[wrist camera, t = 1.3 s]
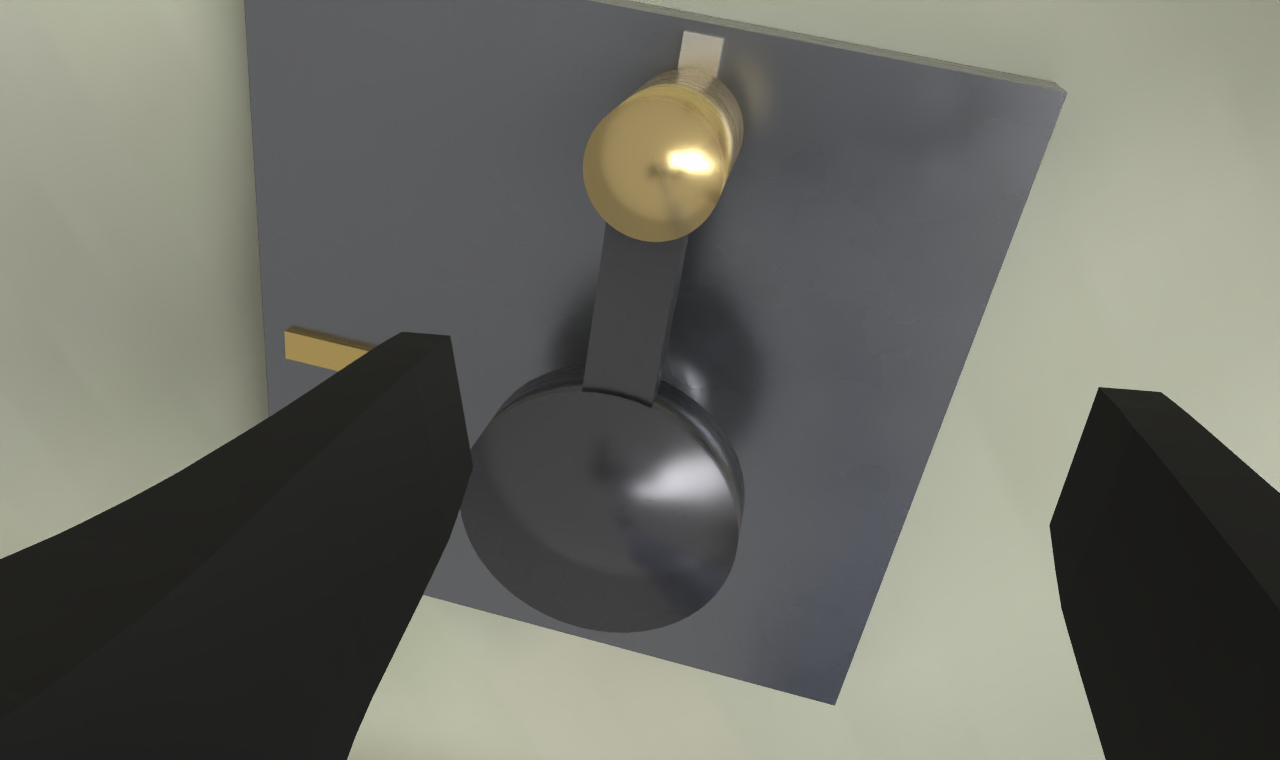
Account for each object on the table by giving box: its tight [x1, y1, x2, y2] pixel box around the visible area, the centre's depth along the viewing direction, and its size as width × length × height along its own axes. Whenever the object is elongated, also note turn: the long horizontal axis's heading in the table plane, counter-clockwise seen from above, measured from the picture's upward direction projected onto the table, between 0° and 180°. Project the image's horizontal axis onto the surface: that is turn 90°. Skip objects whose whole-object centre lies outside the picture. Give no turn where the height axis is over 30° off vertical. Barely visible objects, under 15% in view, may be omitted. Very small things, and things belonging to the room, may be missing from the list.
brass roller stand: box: [460, 68, 745, 633], centre depth 19 cm, size 12×6×4 cm, turn 171°
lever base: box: [244, 0, 1067, 705], centre depth 21 cm, size 17×17×4 cm
